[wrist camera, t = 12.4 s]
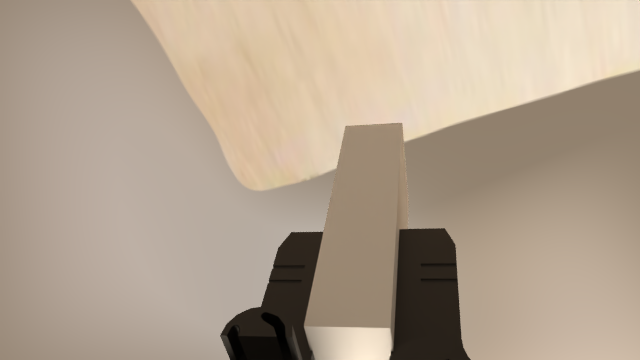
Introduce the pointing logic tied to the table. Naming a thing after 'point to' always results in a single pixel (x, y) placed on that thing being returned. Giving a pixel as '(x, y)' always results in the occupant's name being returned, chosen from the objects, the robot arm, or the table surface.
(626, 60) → the table surface
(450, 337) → the robot arm
